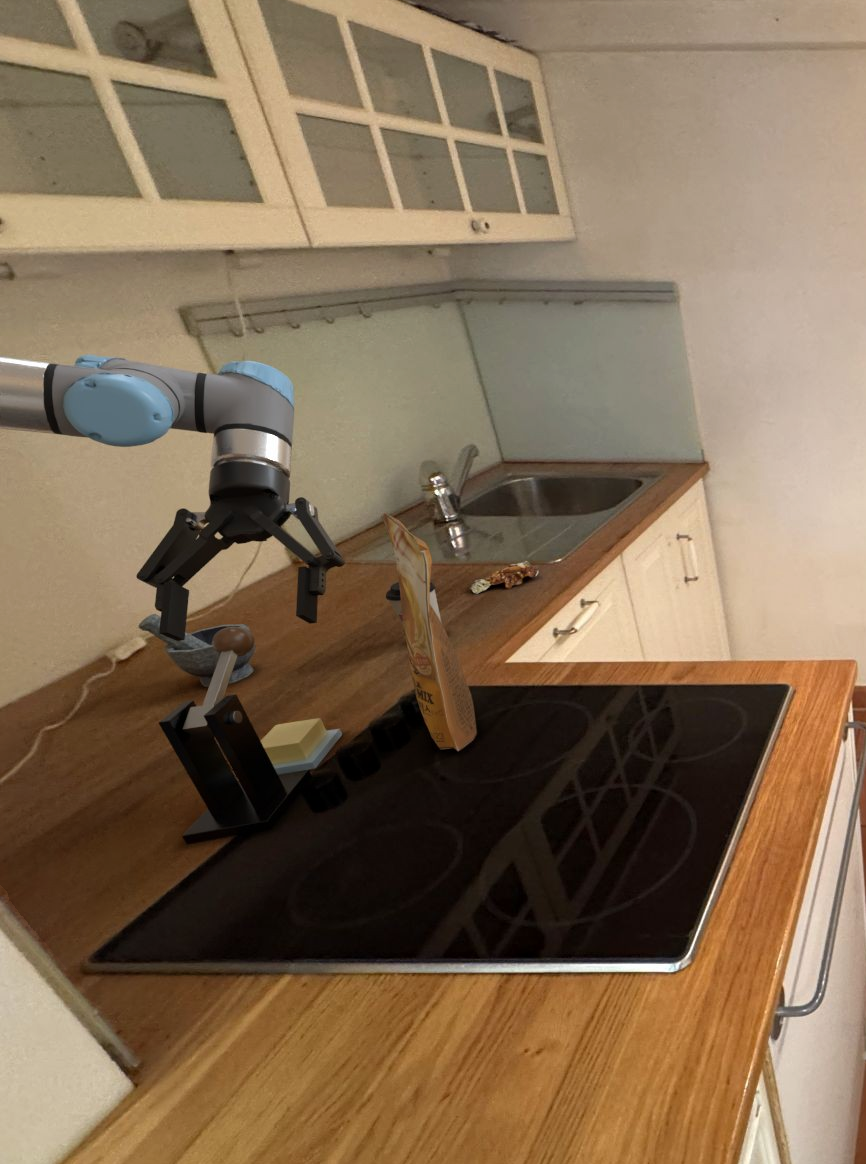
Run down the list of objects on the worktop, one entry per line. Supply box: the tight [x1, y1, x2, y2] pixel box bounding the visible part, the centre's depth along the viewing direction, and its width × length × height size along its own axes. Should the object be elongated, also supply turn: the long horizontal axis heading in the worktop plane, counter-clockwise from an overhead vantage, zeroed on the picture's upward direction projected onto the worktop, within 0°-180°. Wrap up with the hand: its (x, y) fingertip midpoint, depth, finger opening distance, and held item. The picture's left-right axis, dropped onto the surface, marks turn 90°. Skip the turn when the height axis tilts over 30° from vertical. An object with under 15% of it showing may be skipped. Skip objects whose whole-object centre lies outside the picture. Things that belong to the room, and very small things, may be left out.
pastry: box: [469, 560, 540, 595], centre depth 150 cm, size 7×12×4 cm, turn 138°
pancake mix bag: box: [380, 512, 478, 752], centre depth 99 cm, size 7×19×28 cm, turn 38°
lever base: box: [158, 694, 313, 845], centre depth 86 cm, size 10×8×14 cm
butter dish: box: [260, 717, 343, 775], centre depth 98 cm, size 7×8×4 cm
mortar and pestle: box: [137, 613, 256, 688], centre depth 116 cm, size 11×9×12 cm
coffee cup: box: [385, 581, 442, 628], centre depth 127 cm, size 7×7×10 cm
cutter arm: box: [183, 627, 255, 740], centre depth 87 cm, size 14×4×4 cm, turn 17°
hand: (240, 628), depth 92 cm, fingers open, 13 cm apart
